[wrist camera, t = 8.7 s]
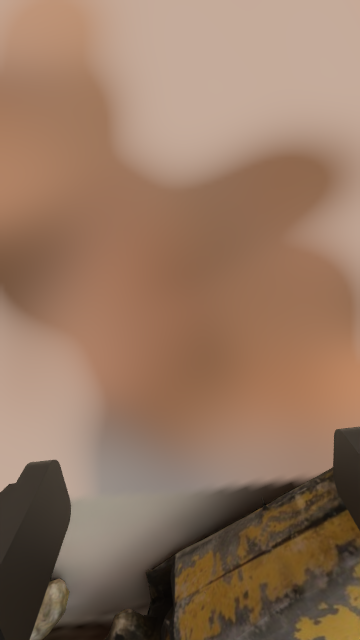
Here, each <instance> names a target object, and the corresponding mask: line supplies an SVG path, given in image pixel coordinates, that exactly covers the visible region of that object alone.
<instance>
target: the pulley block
mask: <svg viewBox="0 0 360 640" xmlns="http://www.w3.org/2000/svg"><path fill="white" fill-rule="evenodd" d="M262 502H263V507H262V508H260V509H258V510H256V511H255V512H253V513H251V514H249V515H247V516H246V517H244V518H242V519H240V520H238V521H236V522H235V523H233V524H231V525H229V526H227V527H225V528H224V529H222V530H220V531H218V532H216V533H214V534H213V535H211V536H209V537H207V538H205V539H203V540H201V541H199V542H197V543H195V544H193V545H191V546H189V547H187V548H185V549H183V550H182V551H180V552H178V553H177V554H175V555H174V556H172V557H171V558H169V559H168V560H166V561H165V562H164V563H162V564H161V565H159V566H157V567H156V568H154V570H147V572H146V576H147V579H148V583H149V587H150V595H151V602H150V607H149V610H148V614H147V615H144V616H143V615H141V614H139V613H137V612H135V611H133V610H131V609H124V610H123V611H121V612H120V613H118V614H116V615H115V617H114V619H113V622H112V625H111V629H110V632H109V635H108V636H107V637H106V638H105V640H360V531H359V529H358V527H357V525H356V524H355V522H354V520H353V518H352V517H351V515H350V513H349V512H348V510H347V508H346V506H345V505H344V503H343V501H342V499H341V498H340V496H339V494H338V491H337V488H336V485H335V481H334V476H333V468H331V469H329V470H328V471H326V472H324V473H322V474H321V475H319V476H317V477H315V478H313V479H312V480H310V481H308V482H306V483H304V484H302V485H301V486H299V487H297V488H295V489H293V490H292V491H290V492H288V493H286V494H284V495H282V496H281V497H279V498H277V499H276V500H274V501H272V502H271V503H269V504H267V505H265V503H264V500H263V497H262ZM68 596H69V591H68V589H67V588H66V584H65V581H63V580H61V579H56V580H53V581H50V582H49V584H48V587H47V590H46V593H45V596H44V599H43V602H42V605H41V608H40V611H39V614H38V617H37V620H36V623H35V626H34V629H33V632H32V635H31V638H30V640H42V639H43V638H44V637H46V636H47V635H48V634H49V633H50V631H51V630H52V628H53V627H54V626H55V625H56V623H57V622H58V621H59V620H60V618H61V617H62V615H63V614H64V612H65V610H66V605H67V601H68Z"/></svg>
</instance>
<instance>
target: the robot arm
mask: <svg viewBox="0 0 360 640" xmlns="http://www.w3.org/2000/svg"><path fill="white" fill-rule="evenodd" d="M333 476H334V481H335V485H336V488H337V491H338V494H339V496H340V498H341V499H342V501H343V503H344V505H345V506H346V508H347V510H348V512H349V513H350V515H351V517H352V518H353V520H354V522H355V524H356V525H357V527H358V529H359V531H360V427H354V428H345V429H337V430H336V431H335V434H334V461H333ZM70 515H71V503H70V498H69V495H68V491H67V488H66V484H65V481H64V477H63V475H62V471H61V467H60V464H59V462H58V461H57V460H49V461H40V462H31V463H29V464H27V465H26V467H25V469H24V470H23V472H22V474H21V475H20V477H19V479H18V480H17V482H16V483H14V484H9V485H8V486H7V487H6V488H5V489H4V490H3V491H2V492H0V640H30V638H31V635H32V632H33V629H34V626H35V623H36V620H37V617H38V614H39V611H40V608H41V605H42V602H43V599H44V596H45V593H46V590H47V587H48V584H49V581H50V578H51V576H52V573H53V570H54V567H55V564H56V561H57V558H58V555H59V552H60V549H61V546H62V543H63V540H64V537H65V534H66V531H67V528H68V525H69V521H70Z"/></svg>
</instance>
